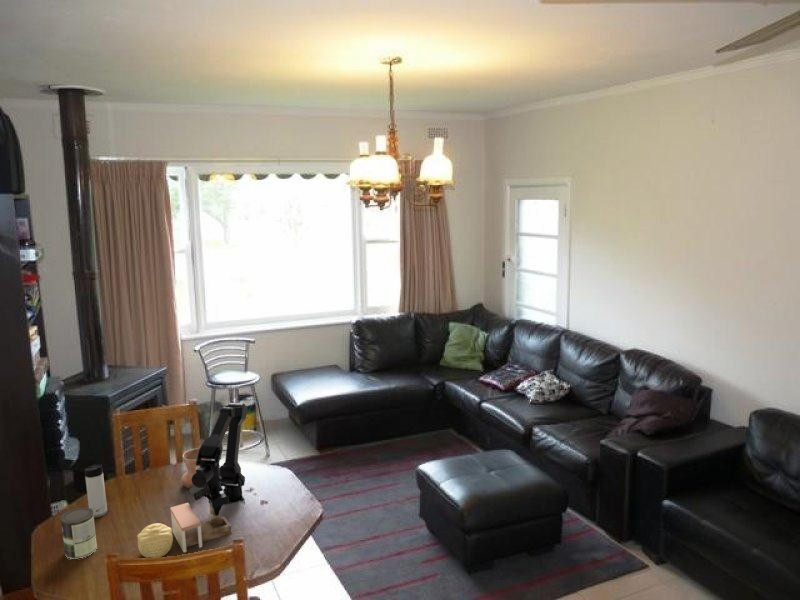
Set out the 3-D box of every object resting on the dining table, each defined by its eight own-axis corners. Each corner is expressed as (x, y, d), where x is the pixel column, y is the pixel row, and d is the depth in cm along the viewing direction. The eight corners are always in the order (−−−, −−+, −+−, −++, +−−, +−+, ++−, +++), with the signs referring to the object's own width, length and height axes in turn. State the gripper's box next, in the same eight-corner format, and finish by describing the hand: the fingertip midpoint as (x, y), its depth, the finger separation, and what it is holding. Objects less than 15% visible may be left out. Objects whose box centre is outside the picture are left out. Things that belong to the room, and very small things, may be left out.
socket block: (224, 523, 242) (224, 516, 241) (231, 533, 235) (231, 525, 235) (180, 536, 233) (179, 529, 233) (185, 547, 227) (185, 539, 226)
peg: (218, 515, 247) (217, 496, 246) (221, 520, 244) (220, 500, 243) (209, 518, 246) (208, 499, 244) (212, 522, 243) (210, 503, 241)
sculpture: (139, 566, 216) (136, 537, 214) (138, 548, 227) (135, 520, 224) (175, 558, 220) (172, 529, 218) (172, 540, 231) (170, 513, 229)
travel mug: (101, 518, 247) (95, 470, 243) (86, 517, 248) (80, 468, 244) (111, 510, 253) (106, 463, 249) (96, 508, 254) (91, 461, 250)
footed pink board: (190, 526, 240) (188, 502, 239) (202, 547, 226) (200, 522, 225) (172, 531, 237) (170, 507, 235) (184, 553, 223) (181, 528, 221)
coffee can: (59, 561, 220) (55, 523, 217) (72, 544, 230) (67, 508, 227) (90, 559, 220) (86, 521, 218) (101, 542, 231) (97, 506, 228)
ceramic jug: (218, 490, 268) (216, 458, 265) (181, 496, 263) (179, 463, 261) (216, 473, 285) (214, 442, 282) (182, 478, 280) (179, 447, 278)
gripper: (184, 471, 245) (187, 509, 248) (197, 490, 230) (200, 530, 233) (213, 464, 251) (216, 500, 254) (228, 482, 235) (230, 521, 238)
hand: (215, 513), depth 245 cm, fingers closed on peg, 4 cm apart
